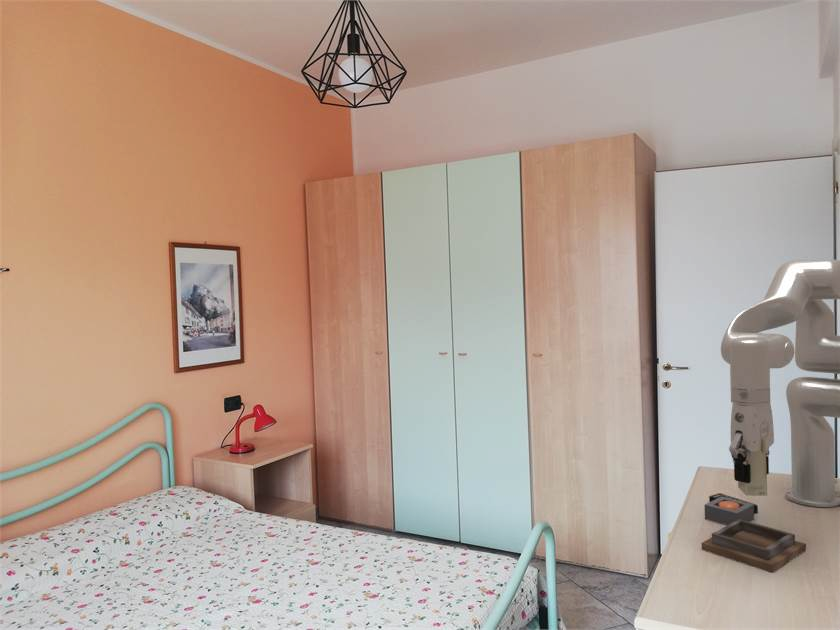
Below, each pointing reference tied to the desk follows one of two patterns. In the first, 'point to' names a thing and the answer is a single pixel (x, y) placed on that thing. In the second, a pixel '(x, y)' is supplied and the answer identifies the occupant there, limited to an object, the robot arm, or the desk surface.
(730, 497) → the multiport hub
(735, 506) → the button
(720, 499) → the button housing
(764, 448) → the skincare box
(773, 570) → the square wooden tray
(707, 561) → the desk surface
